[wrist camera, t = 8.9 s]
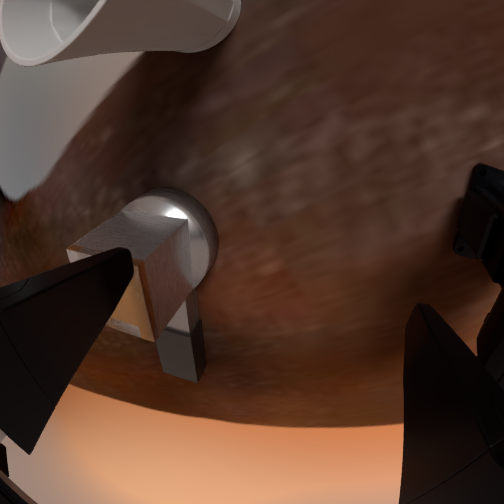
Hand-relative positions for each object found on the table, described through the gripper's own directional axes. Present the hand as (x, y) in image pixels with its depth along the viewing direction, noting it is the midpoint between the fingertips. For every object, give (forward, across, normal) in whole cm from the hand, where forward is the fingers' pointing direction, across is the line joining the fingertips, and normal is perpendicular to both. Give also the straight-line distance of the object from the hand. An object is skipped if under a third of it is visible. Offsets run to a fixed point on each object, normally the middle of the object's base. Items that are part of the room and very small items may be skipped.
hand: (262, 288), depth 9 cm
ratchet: (+12, +10, +12) cm, 20 cm away
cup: (+12, +8, -11) cm, 18 cm away
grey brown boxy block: (+10, +10, +6) cm, 15 cm away
